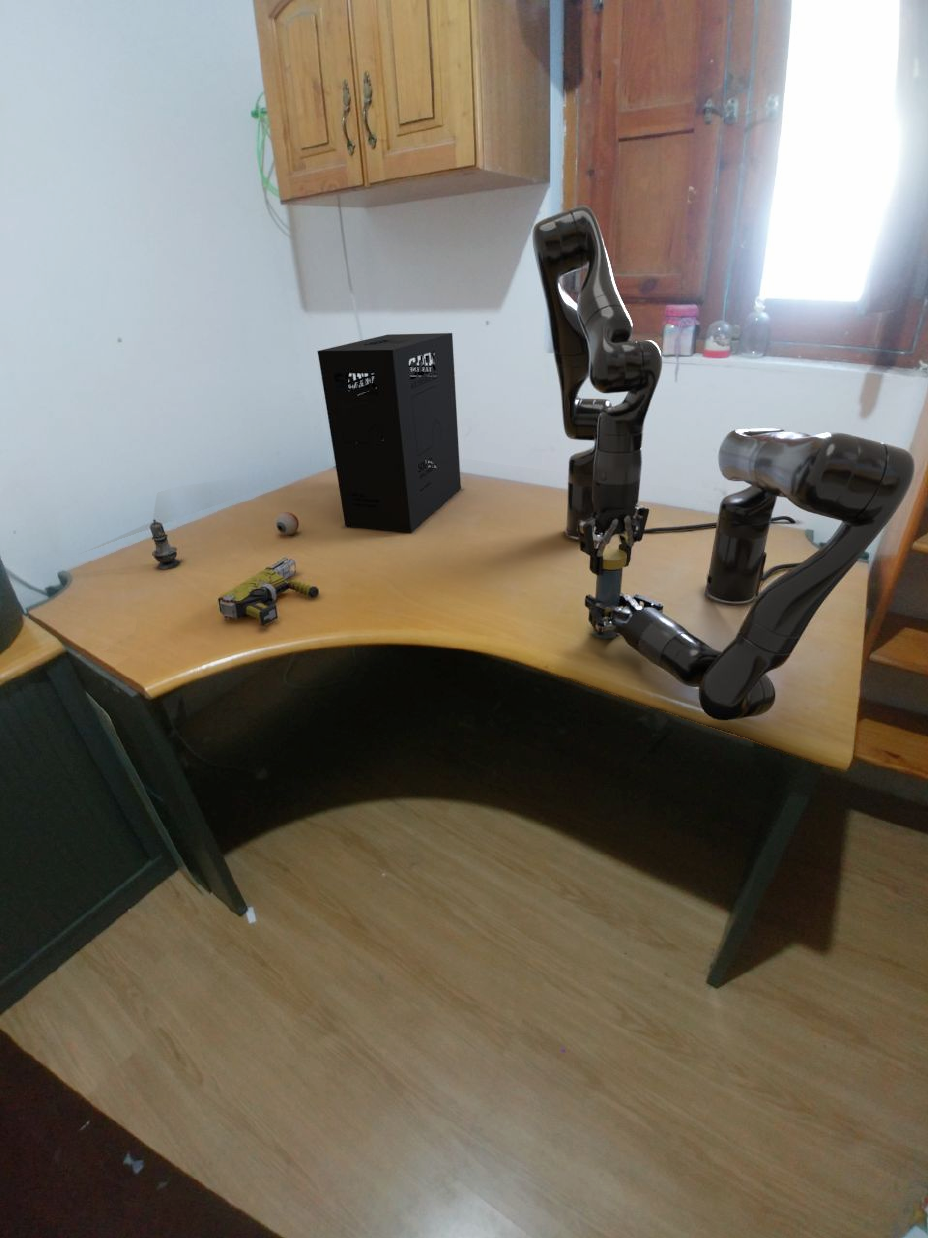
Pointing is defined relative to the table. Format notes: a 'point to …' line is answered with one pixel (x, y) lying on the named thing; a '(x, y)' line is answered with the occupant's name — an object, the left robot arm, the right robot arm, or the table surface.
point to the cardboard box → (393, 428)
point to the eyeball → (287, 523)
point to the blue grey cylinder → (608, 593)
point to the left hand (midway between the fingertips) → (609, 569)
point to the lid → (614, 558)
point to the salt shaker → (163, 547)
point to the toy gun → (262, 593)
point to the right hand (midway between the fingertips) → (598, 596)
